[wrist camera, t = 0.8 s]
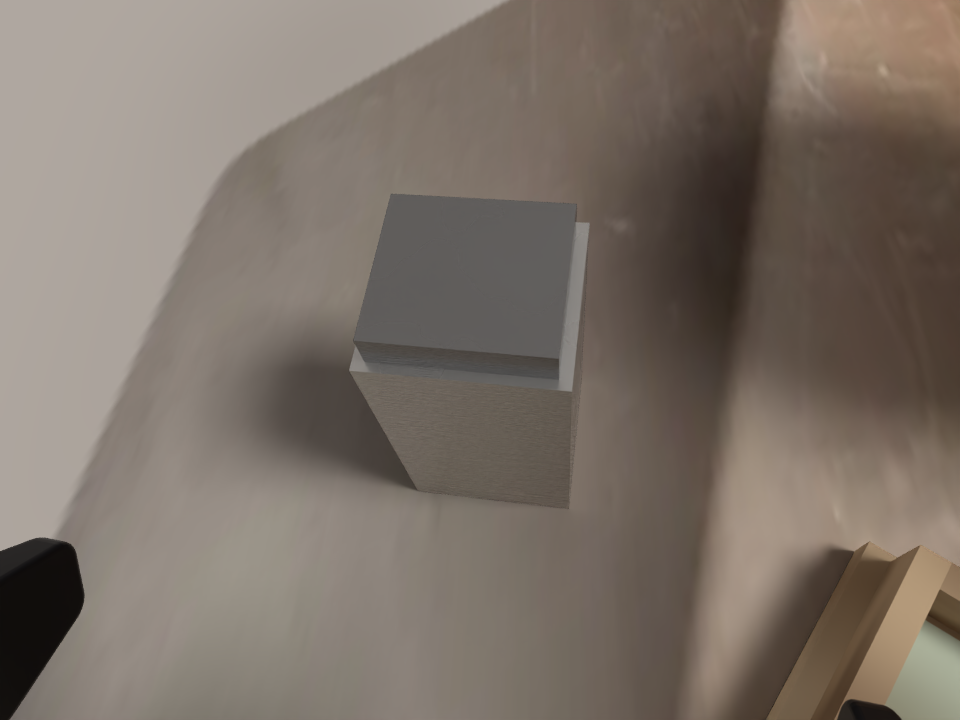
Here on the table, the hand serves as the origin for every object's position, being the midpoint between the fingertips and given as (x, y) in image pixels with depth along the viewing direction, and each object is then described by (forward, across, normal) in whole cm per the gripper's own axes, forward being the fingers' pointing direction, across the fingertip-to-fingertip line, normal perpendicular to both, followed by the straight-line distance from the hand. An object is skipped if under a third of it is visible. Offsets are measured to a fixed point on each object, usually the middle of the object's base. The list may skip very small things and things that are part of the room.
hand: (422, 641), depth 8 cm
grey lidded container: (+16, +2, +6) cm, 17 cm away
